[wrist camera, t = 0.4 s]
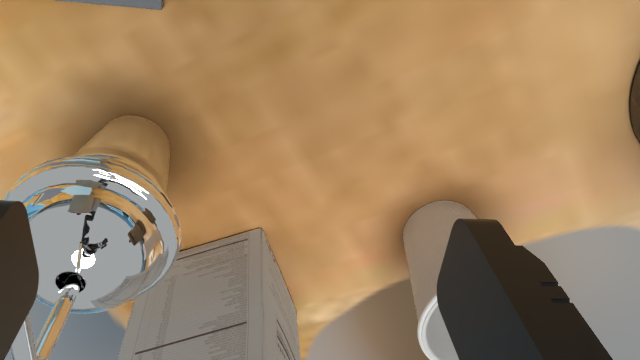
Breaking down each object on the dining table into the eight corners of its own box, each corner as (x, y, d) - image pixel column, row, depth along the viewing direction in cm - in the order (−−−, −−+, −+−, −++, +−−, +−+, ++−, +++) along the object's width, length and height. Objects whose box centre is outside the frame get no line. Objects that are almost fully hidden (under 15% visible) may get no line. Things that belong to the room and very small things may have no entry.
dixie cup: (406, 174, 38) (450, 261, 29) (510, 195, 40) (579, 283, 31) (370, 266, 42) (399, 366, 33) (466, 281, 44) (518, 381, 35)
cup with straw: (42, 159, 35) (-174, 436, 18) (111, 51, 32) (-67, 254, 15) (158, 222, 38) (71, 509, 21) (230, 129, 35) (200, 372, 18)
